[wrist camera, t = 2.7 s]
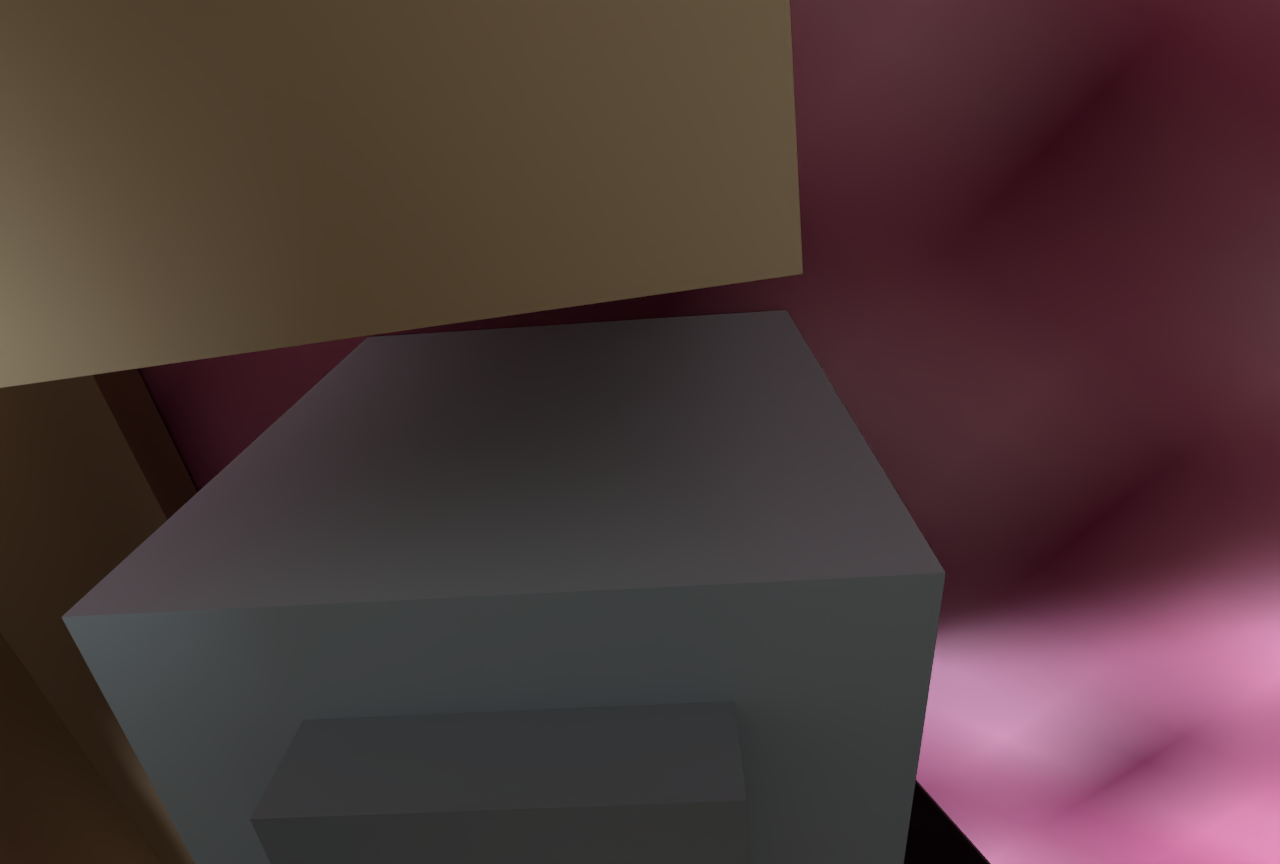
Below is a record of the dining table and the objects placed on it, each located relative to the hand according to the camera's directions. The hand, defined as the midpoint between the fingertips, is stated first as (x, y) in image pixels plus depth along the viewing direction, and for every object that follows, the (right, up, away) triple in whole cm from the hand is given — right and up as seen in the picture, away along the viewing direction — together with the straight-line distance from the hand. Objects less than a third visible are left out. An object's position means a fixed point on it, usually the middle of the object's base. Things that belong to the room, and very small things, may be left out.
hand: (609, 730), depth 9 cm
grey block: (0, 0, +1) cm, 1 cm away
